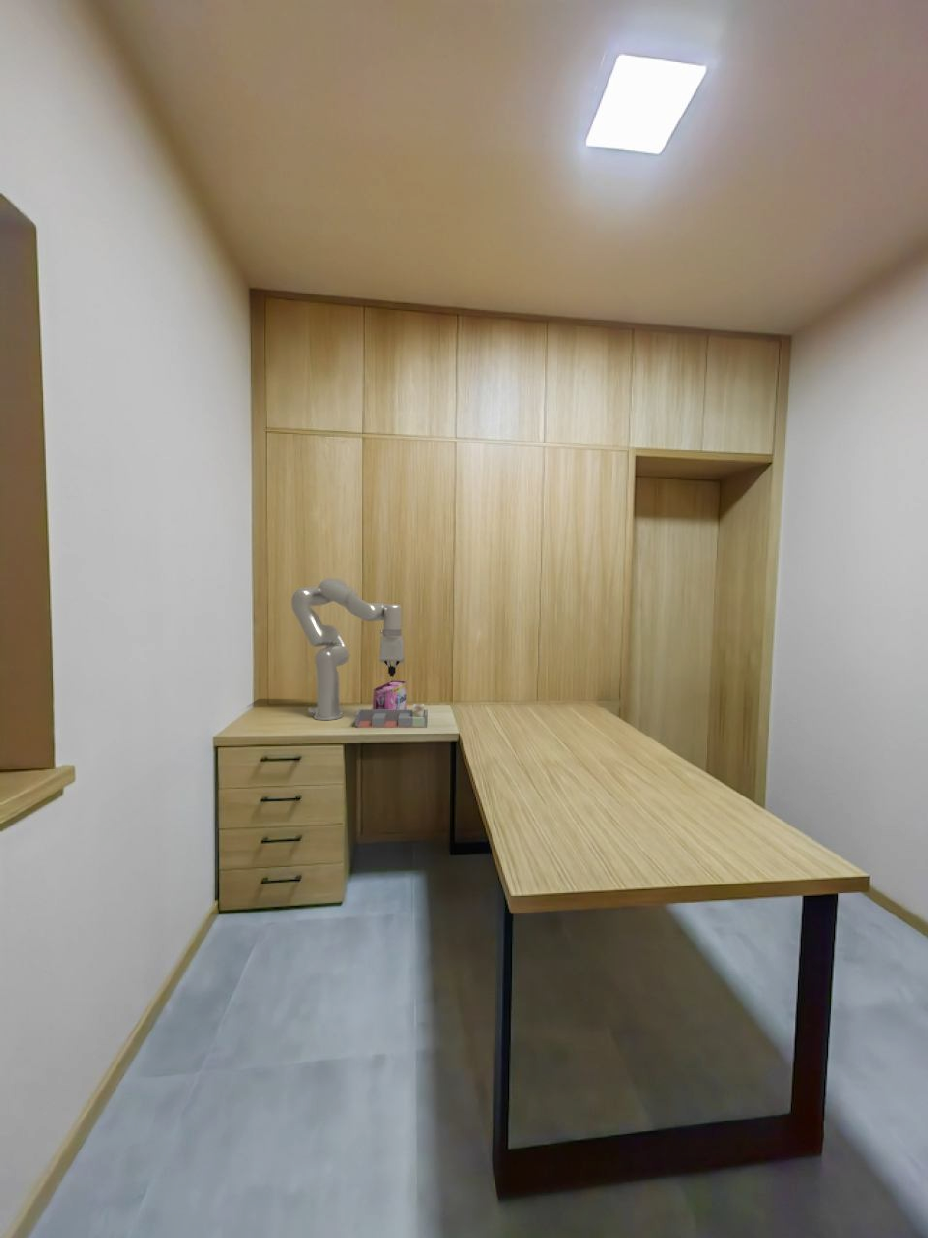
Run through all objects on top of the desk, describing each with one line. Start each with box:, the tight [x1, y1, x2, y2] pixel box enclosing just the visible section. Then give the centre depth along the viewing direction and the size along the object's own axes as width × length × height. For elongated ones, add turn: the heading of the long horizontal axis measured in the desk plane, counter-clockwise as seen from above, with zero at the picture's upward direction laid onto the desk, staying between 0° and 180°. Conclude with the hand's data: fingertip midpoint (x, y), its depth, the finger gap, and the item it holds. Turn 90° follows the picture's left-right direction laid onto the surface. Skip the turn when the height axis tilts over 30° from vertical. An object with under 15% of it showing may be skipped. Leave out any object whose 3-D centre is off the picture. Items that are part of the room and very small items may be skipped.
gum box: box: [372, 680, 408, 709], centre depth 227 cm, size 24×8×14 cm, turn 166°
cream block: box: [412, 703, 425, 717], centre depth 210 cm, size 4×4×4 cm
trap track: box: [354, 708, 429, 729], centre depth 210 cm, size 30×9×6 cm, turn 92°
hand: (391, 675), depth 209 cm, fingers closed
